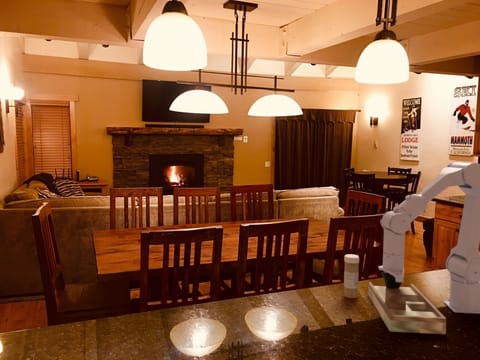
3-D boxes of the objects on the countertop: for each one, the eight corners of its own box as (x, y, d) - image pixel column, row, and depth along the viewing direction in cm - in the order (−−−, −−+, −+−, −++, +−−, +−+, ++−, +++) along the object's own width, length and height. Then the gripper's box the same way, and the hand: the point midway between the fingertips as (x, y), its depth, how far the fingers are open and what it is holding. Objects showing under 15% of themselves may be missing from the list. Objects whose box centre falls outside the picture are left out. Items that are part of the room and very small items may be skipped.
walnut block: (401, 303, 114) (401, 288, 114) (405, 310, 110) (406, 294, 109) (385, 303, 115) (385, 288, 114) (389, 309, 110) (389, 293, 110)
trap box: (412, 296, 128) (412, 283, 127) (445, 334, 102) (446, 318, 102) (368, 294, 129) (368, 282, 129) (389, 331, 104) (390, 315, 103)
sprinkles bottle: (351, 292, 131) (352, 253, 130) (361, 297, 127) (362, 256, 126) (340, 294, 129) (341, 254, 128) (349, 299, 125) (351, 258, 124)
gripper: (373, 246, 122) (372, 288, 124) (385, 259, 108) (384, 307, 109) (397, 246, 122) (395, 289, 123) (412, 260, 107) (410, 308, 108)
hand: (391, 297), depth 116 cm, fingers closed
